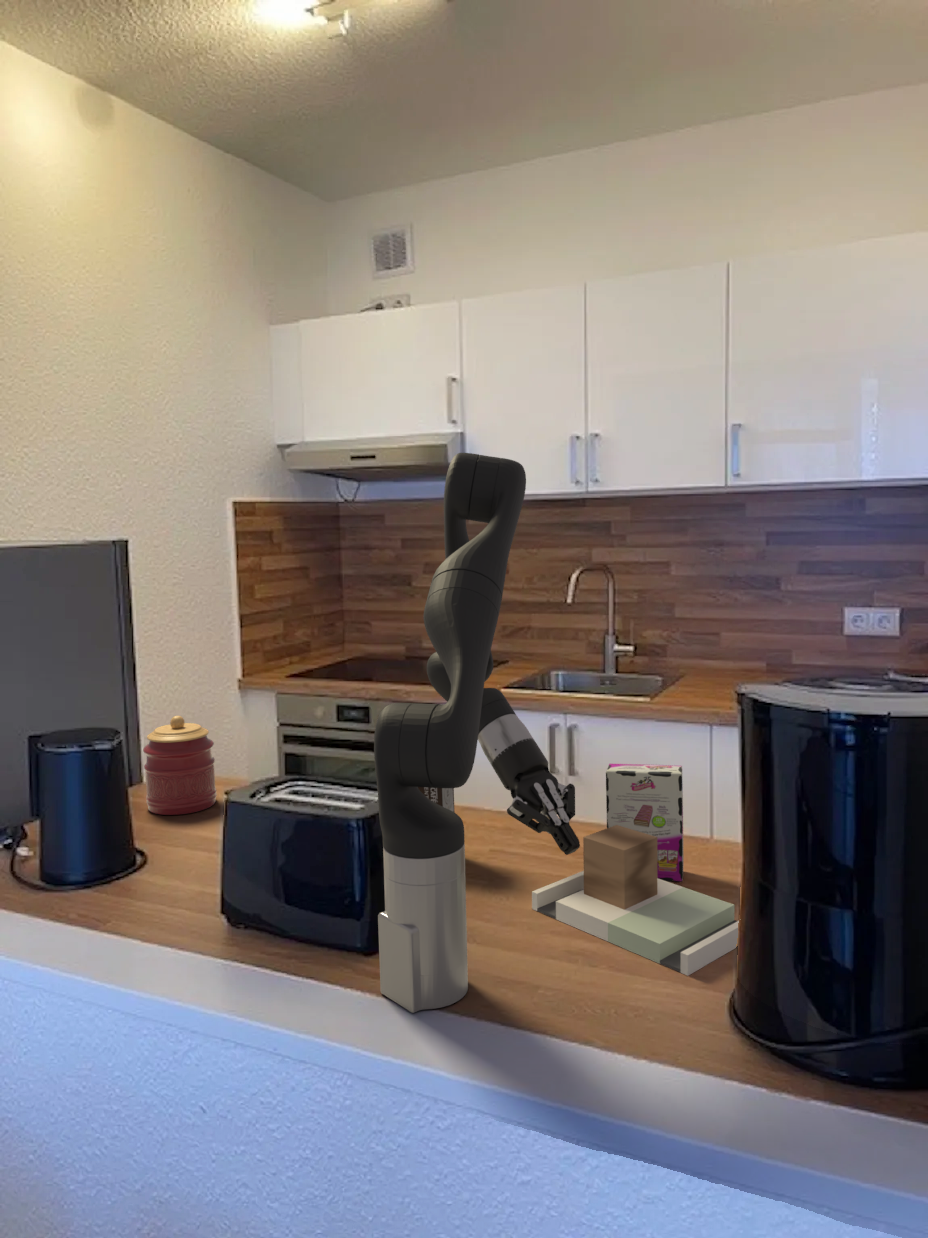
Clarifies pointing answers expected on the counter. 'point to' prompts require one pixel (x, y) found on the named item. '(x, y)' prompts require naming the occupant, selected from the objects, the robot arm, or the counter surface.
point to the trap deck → (648, 922)
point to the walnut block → (620, 866)
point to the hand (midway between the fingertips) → (573, 850)
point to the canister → (179, 769)
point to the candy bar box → (650, 809)
